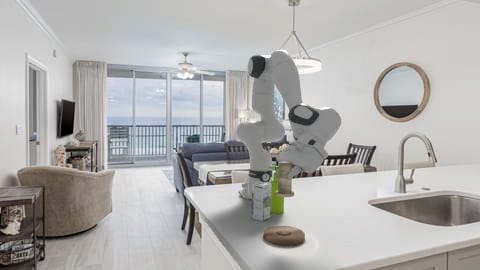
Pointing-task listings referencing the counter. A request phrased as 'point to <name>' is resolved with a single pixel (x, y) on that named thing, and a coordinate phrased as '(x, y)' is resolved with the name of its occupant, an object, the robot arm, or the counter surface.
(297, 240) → the base
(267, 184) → the syrup box
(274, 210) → the soap dispenser
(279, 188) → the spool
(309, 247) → the counter surface
